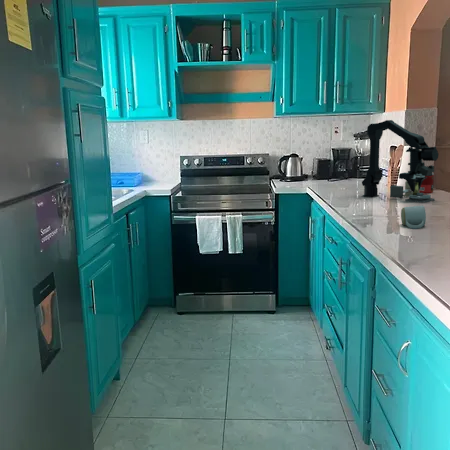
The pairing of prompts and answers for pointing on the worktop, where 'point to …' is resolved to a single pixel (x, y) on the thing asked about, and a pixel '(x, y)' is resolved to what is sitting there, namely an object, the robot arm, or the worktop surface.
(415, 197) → the handwheel
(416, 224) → the ceramic mug
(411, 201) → the wheel base
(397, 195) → the block-headed metal hammer
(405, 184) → the grey-green hollow piece
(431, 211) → the worktop surface
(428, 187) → the canned food
